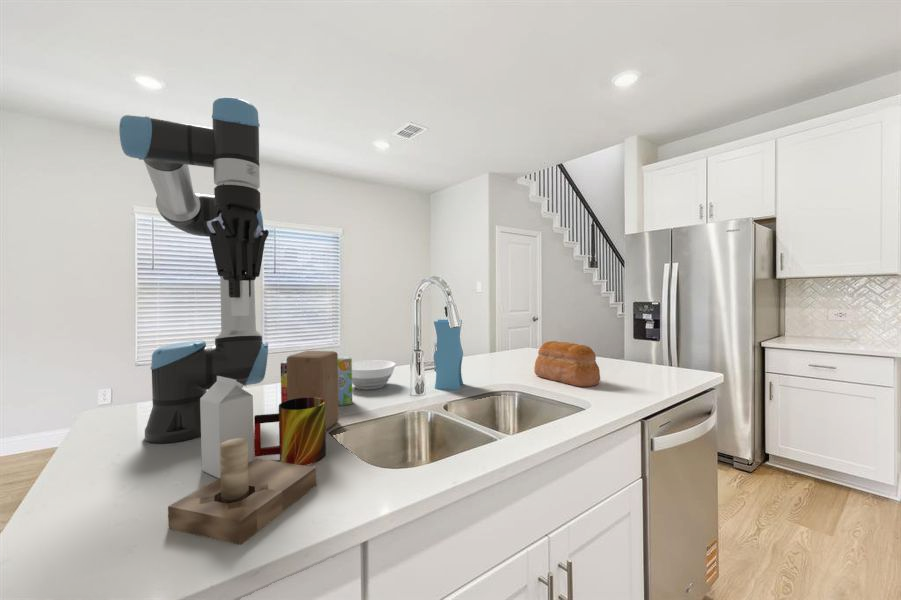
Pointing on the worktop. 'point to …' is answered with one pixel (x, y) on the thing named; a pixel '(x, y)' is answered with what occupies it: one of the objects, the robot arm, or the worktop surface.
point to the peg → (234, 470)
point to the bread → (567, 364)
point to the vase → (448, 356)
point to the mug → (296, 431)
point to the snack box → (343, 380)
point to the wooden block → (315, 380)
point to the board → (243, 502)
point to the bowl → (371, 373)
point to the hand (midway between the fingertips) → (240, 315)
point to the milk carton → (224, 421)
